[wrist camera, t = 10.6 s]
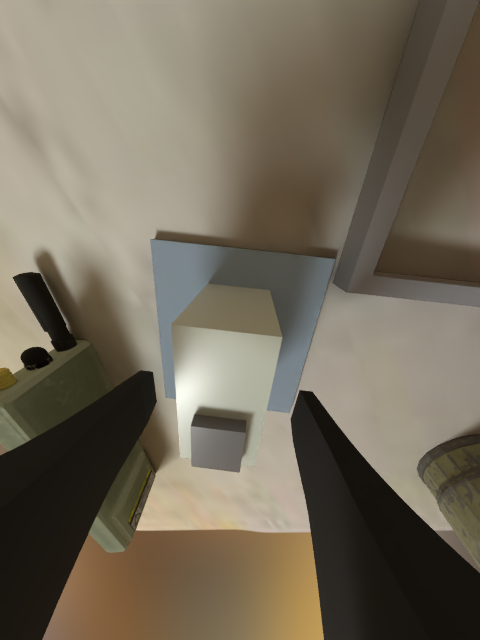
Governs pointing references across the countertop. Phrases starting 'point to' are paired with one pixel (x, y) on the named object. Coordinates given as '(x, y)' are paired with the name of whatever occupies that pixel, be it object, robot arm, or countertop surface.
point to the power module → (224, 374)
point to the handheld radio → (69, 410)
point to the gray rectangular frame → (407, 158)
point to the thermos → (457, 487)
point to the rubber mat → (250, 272)
